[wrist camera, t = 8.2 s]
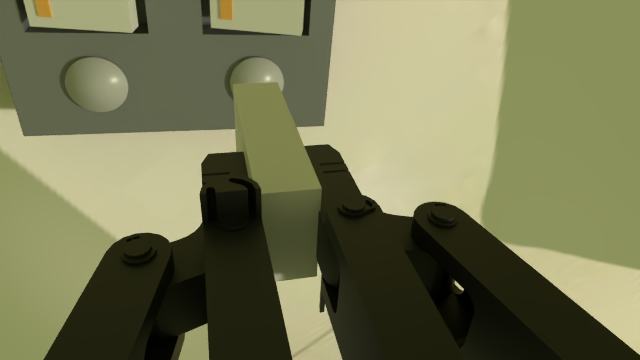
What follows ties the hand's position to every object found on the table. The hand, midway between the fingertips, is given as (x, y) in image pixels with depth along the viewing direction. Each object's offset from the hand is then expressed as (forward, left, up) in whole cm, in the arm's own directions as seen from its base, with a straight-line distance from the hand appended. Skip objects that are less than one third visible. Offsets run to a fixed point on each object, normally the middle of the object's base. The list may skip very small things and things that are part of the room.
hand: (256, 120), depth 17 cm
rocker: (+1, -2, -15) cm, 15 cm away
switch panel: (-2, +3, -20) cm, 20 cm away
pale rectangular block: (+1, +8, -15) cm, 17 cm away
